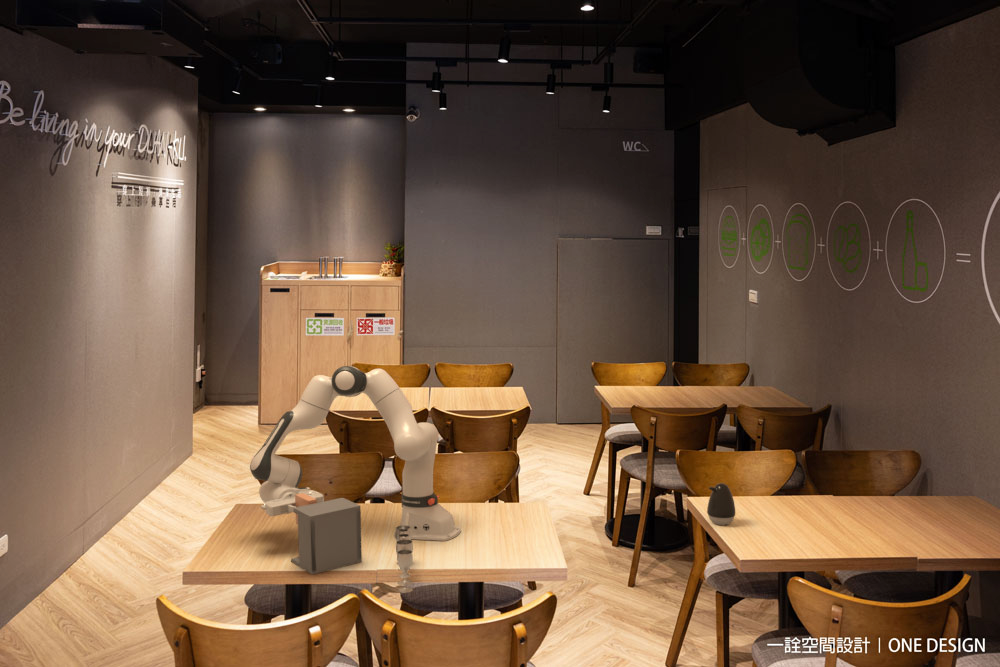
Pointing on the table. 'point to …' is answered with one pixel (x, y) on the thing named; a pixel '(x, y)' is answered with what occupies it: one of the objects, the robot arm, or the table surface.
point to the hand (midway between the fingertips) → (304, 509)
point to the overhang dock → (328, 535)
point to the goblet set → (404, 555)
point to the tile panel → (303, 501)
